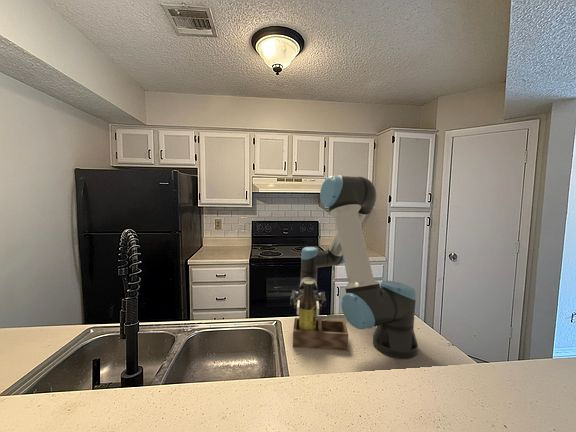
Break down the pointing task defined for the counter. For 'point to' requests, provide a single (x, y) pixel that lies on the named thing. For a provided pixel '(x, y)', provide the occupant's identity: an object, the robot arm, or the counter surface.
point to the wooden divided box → (322, 335)
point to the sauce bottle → (307, 308)
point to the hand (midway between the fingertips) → (307, 311)
